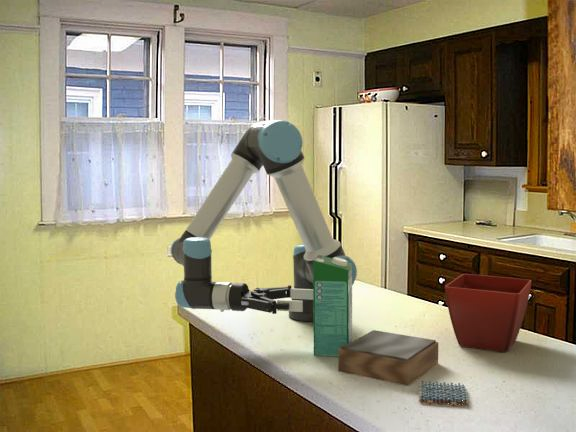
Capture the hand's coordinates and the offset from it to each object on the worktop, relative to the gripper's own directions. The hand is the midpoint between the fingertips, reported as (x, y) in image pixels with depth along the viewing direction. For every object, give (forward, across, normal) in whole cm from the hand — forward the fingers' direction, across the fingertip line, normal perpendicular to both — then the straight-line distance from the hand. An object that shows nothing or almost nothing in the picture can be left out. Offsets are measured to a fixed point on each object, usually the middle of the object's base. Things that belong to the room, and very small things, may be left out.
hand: (308, 300), depth 176 cm
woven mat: (+35, +26, -14) cm, 46 cm away
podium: (+22, +9, -14) cm, 28 cm away
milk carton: (+6, 0, -14) cm, 15 cm away
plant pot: (+46, -16, -14) cm, 51 cm away
